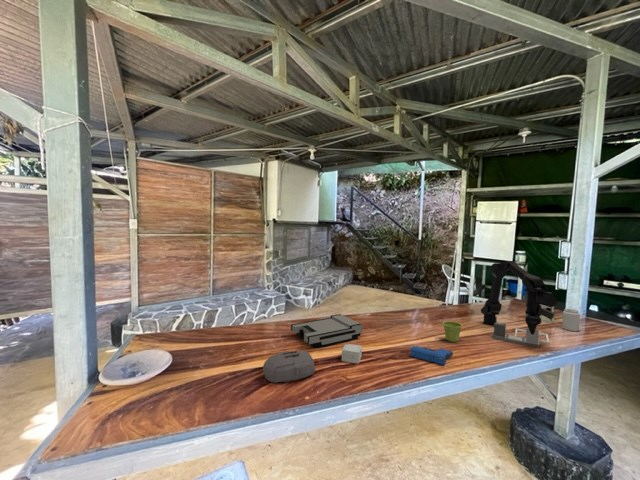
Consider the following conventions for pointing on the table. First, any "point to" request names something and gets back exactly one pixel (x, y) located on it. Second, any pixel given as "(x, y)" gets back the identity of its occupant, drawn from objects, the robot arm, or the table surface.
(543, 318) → the green desk organizer
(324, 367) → the table surface
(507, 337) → the strip
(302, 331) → the game console
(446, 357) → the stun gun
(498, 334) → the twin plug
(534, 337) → the plug
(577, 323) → the can
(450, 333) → the plant pot
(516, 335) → the white square frame
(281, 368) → the small grey backpack
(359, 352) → the small box
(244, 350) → the table surface
